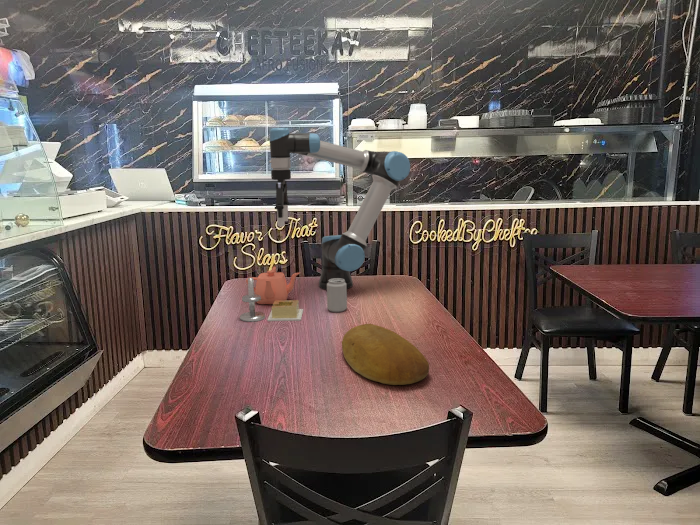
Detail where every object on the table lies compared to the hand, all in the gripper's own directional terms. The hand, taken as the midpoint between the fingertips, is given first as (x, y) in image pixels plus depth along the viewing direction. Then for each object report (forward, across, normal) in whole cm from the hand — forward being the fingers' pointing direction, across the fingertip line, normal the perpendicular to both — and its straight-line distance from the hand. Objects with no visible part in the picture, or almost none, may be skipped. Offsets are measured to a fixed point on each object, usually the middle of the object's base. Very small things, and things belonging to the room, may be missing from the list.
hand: (283, 223), depth 208 cm
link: (+31, +20, +2) cm, 37 cm away
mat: (+32, +20, +2) cm, 38 cm away
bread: (+32, +66, +34) cm, 81 cm away
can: (+32, +14, +21) cm, 41 cm away
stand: (+32, +22, -10) cm, 40 cm away
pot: (+32, -1, -5) cm, 32 cm away
